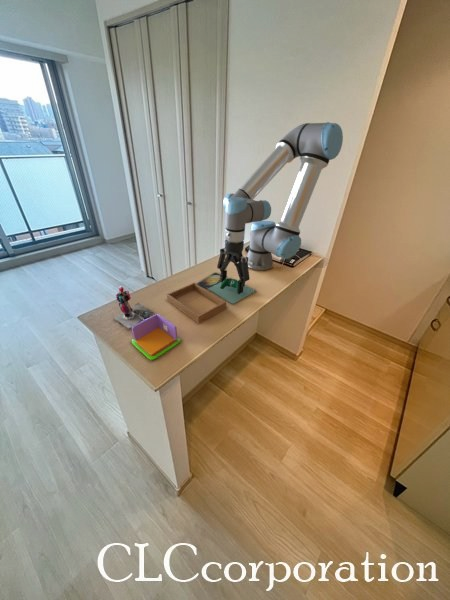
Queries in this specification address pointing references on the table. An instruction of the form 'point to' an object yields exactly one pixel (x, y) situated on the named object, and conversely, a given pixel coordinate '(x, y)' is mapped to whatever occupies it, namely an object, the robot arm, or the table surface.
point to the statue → (130, 310)
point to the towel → (231, 293)
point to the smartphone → (210, 281)
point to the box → (204, 292)
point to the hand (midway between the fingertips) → (231, 288)
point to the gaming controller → (229, 283)
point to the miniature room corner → (154, 336)
